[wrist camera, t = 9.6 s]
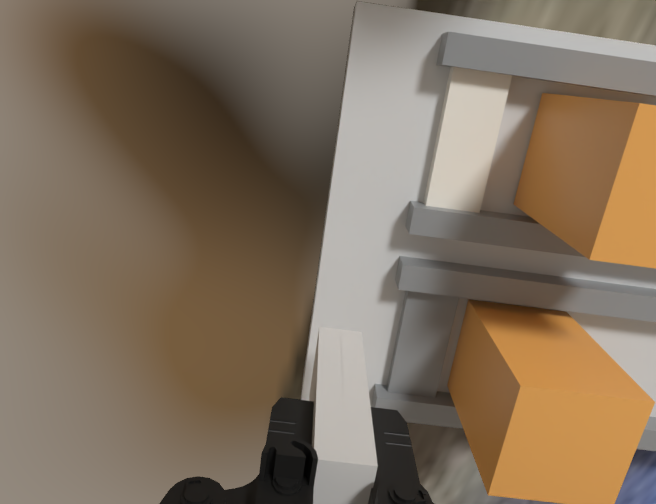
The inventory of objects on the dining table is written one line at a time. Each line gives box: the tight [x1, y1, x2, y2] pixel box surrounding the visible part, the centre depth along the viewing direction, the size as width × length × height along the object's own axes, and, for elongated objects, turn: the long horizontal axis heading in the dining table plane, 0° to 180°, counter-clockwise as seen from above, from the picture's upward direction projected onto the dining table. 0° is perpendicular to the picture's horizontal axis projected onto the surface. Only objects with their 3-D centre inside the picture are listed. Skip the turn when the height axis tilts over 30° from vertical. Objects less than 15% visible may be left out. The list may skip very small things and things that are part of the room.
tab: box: [447, 299, 655, 504], centre depth 19 cm, size 4×4×6 cm
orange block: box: [514, 93, 656, 269], centre depth 16 cm, size 4×4×6 cm
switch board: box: [301, 1, 656, 451], centre depth 21 cm, size 22×16×3 cm
